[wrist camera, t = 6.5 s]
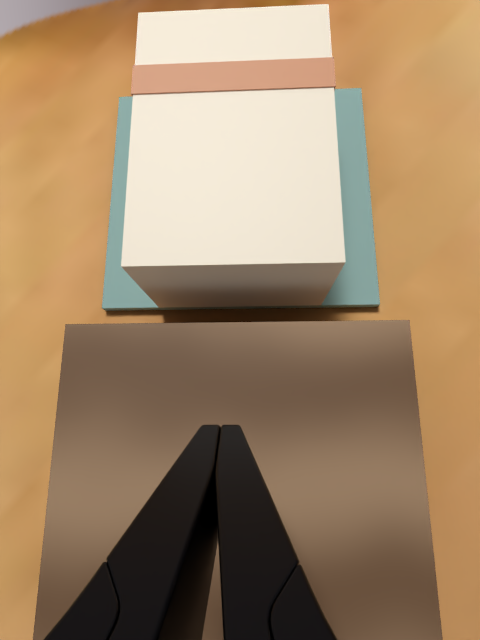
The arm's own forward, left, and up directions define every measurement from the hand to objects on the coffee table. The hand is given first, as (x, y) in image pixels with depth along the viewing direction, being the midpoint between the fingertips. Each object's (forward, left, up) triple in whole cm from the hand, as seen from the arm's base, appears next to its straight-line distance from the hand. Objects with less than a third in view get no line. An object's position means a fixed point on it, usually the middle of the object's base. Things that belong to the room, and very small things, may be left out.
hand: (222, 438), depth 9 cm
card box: (+5, +1, -5) cm, 7 cm away
